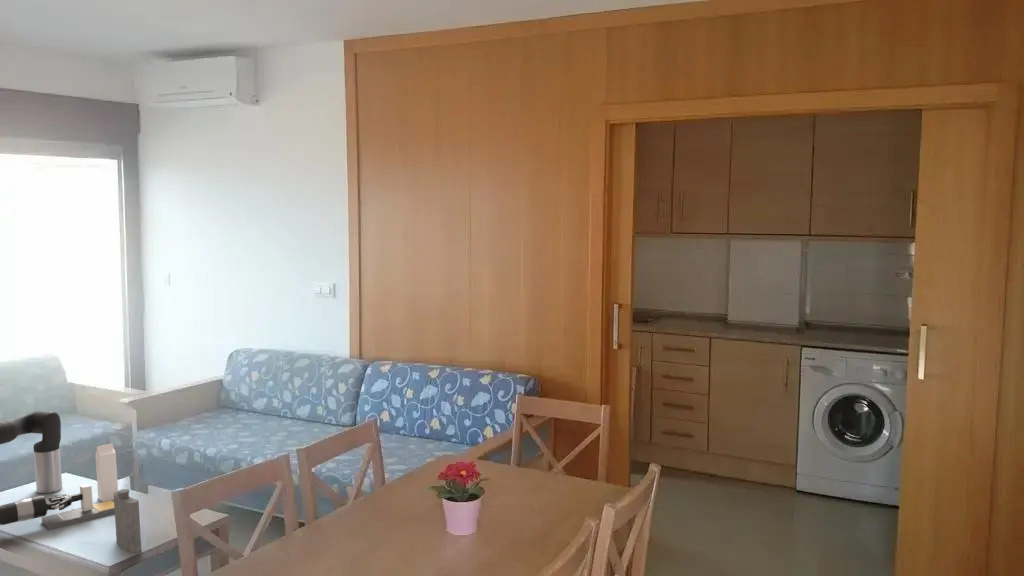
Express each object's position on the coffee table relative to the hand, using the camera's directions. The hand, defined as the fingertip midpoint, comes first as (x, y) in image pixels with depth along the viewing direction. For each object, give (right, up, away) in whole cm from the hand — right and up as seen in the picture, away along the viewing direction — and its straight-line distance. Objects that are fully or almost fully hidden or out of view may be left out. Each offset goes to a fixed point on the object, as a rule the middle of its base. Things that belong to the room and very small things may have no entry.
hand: (81, 496), depth 304 cm
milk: (0, -6, +20) cm, 21 cm away
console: (0, -8, +1) cm, 8 cm away
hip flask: (+30, -11, -26) cm, 41 cm away
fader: (+1, -5, +2) cm, 6 cm away
